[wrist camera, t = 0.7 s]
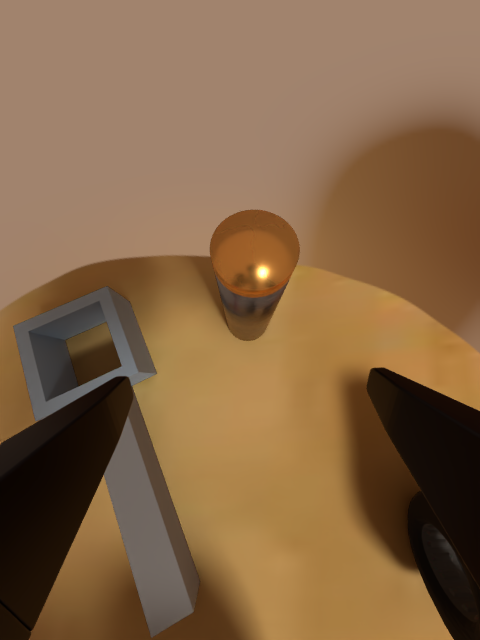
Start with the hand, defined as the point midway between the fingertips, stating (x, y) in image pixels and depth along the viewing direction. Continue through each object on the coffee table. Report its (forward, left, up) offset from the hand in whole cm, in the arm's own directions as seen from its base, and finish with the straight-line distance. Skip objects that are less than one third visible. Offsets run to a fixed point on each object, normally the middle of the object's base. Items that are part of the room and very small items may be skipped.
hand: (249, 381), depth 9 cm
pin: (+5, +3, -13) cm, 14 cm away
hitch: (-10, +6, -13) cm, 17 cm away
